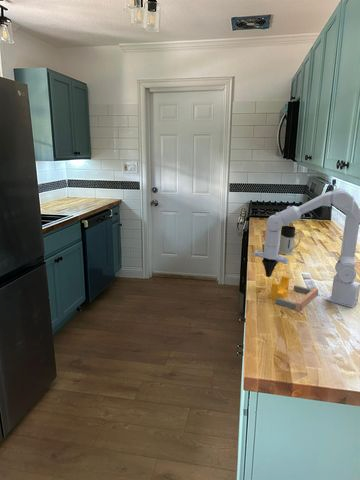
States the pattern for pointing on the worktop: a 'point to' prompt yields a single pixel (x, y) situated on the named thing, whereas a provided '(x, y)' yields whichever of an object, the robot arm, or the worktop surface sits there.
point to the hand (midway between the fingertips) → (268, 276)
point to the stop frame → (303, 301)
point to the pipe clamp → (280, 288)
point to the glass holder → (287, 240)
